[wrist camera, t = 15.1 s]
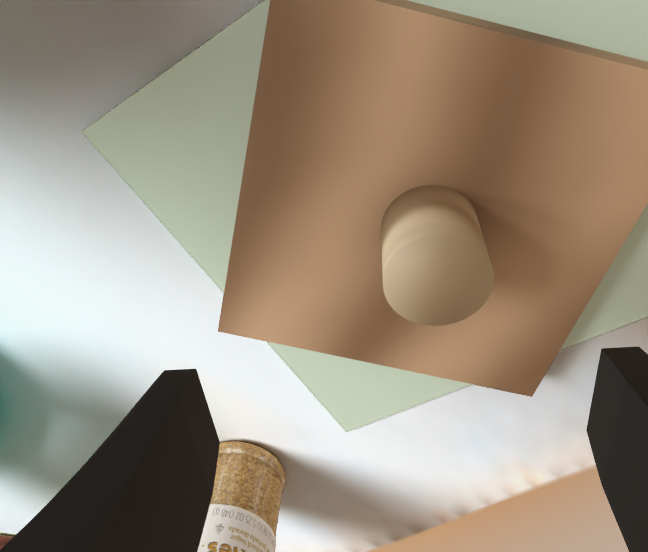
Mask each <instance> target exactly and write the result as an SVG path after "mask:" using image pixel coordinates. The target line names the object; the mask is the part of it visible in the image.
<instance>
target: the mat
mask: <svg viewBox="0 0 648 552" xmlns="http://www.w3.org/2000/svg"><path fill="white" fill-rule="evenodd" d="M408 1H412V2H416V3H420V4H423V5H427V6H431V7H435V8H439V9H443V10H447V11H451V12H455V13H459V14H463V15H467V16H471V17H474V18H478V19H482V20H486V21H490V22H494V23H498V24H502V25H506V26H510V27H514V28H518V29H521V30H525V31H529V32H533V33H537V34H541V35H545V36H549V37H553V38H557V39H561V40H565V41H569V42H572V43H576V44H580V45H584V46H588V47H592V48H596V49H600V50H604V51H608V52H612V53H616V54H619V55H623V56H627V57H631V58H635V59H639V60H643V61H647V62H648V0H408ZM269 4H270V0H264V1H263V2H261V3H260V4H258V5H257V6H256V7H254V8H253V9H252V10H250V11H249V12H247V13H246V14H245V15H243V16H242V17H240V18H239V19H238V20H236V21H235V22H233V23H232V24H231V25H229V26H228V27H226V28H225V29H224V30H222V31H221V32H219V33H218V34H217V35H215V36H214V37H212V38H211V39H210V40H208V41H207V42H205V43H204V44H203V45H201V46H200V47H199V48H197V49H196V50H194V51H193V52H192V53H190V54H189V55H187V56H186V57H185V58H183V59H182V60H180V61H179V62H178V63H176V64H175V65H173V66H172V67H171V68H169V69H168V70H166V71H165V72H164V73H162V74H161V75H159V76H158V77H157V78H155V79H154V80H152V81H151V82H150V83H148V84H147V85H145V86H144V87H143V88H141V89H140V90H139V91H137V92H136V93H134V94H133V95H132V96H130V97H129V98H127V99H126V100H125V101H123V102H122V103H120V104H119V105H118V106H116V107H115V108H113V109H112V110H111V111H109V112H108V113H106V114H105V115H104V116H102V117H101V118H99V119H98V120H97V121H95V122H94V123H92V124H91V125H90V126H88V127H87V128H85V129H84V130H83V131H82V133H83V134H84V135H85V137H86V138H87V139H88V140H89V141H90V142H91V143H92V144H93V146H94V147H95V148H96V149H97V150H98V151H99V152H100V154H101V155H102V156H103V157H104V158H105V159H106V160H107V161H108V163H109V164H110V165H111V166H112V167H113V168H114V169H115V171H116V172H117V173H118V174H119V175H120V176H121V177H122V178H123V180H124V181H125V182H126V183H127V184H128V185H129V186H130V188H131V189H132V190H133V191H134V192H135V193H136V194H137V195H138V197H139V198H140V199H141V200H142V201H143V202H144V203H145V205H146V206H147V207H148V208H149V209H150V210H151V211H152V213H153V214H154V215H155V216H156V217H157V218H158V219H159V220H160V222H161V223H162V224H163V225H164V226H165V227H166V228H167V230H168V231H169V232H170V233H171V234H172V235H173V236H174V237H175V239H176V240H177V241H178V242H179V243H180V244H181V245H182V247H183V248H184V249H185V250H186V251H187V252H188V253H189V254H190V256H191V257H192V258H193V259H194V260H195V261H196V262H197V264H198V265H199V266H200V267H201V268H202V269H203V270H204V271H205V273H206V274H207V275H208V276H209V277H210V278H211V279H212V281H213V282H214V283H215V284H216V285H217V286H218V287H219V288H220V290H221V291H222V292H223V293H224V290H225V283H226V277H227V271H228V264H229V258H230V252H231V245H232V239H233V233H234V226H235V220H236V214H237V207H238V201H239V195H240V188H241V182H242V176H243V169H244V163H245V157H246V150H247V144H248V138H249V131H250V125H251V119H252V112H253V106H254V99H255V93H256V87H257V80H258V74H259V68H260V61H261V55H262V49H263V42H264V36H265V30H266V23H267V17H268V11H269ZM646 317H648V204H647V206H646V207H645V209H644V211H643V212H642V214H641V216H640V217H639V219H638V221H637V222H636V224H635V226H634V227H633V229H632V231H631V232H630V234H629V236H628V237H627V239H626V241H625V242H624V244H623V246H622V247H621V249H620V251H619V252H618V254H617V256H616V257H615V259H614V261H613V262H612V264H611V266H610V267H609V269H608V271H607V272H606V274H605V276H604V277H603V279H602V281H601V282H600V284H599V286H598V287H597V289H596V291H595V292H594V294H593V296H592V297H591V299H590V301H589V302H588V304H587V306H586V307H585V309H584V311H583V312H582V314H581V316H580V317H579V319H578V321H577V322H576V324H575V326H574V327H573V329H572V331H571V332H570V334H569V336H568V337H567V339H566V341H565V342H564V344H563V346H562V347H561V349H560V350H562V349H565V348H568V347H570V346H573V345H575V344H578V343H581V342H583V341H586V340H588V339H591V338H594V337H596V336H599V335H601V334H604V333H607V332H609V331H612V330H614V329H617V328H620V327H622V326H625V325H627V324H630V323H633V322H635V321H638V320H640V319H643V318H646ZM266 342H267V341H266ZM267 343H268V344H269V345H270V346H271V347H272V349H273V350H274V351H275V352H276V353H277V354H278V355H279V357H280V358H281V359H282V360H283V361H284V362H285V363H286V364H287V366H288V367H289V368H290V369H291V370H292V371H293V372H294V374H295V375H296V376H297V377H298V378H299V379H300V380H301V381H302V383H303V384H304V385H305V386H306V387H307V388H308V389H309V391H310V392H311V393H312V394H313V395H314V396H315V397H316V398H317V400H318V401H319V402H320V403H321V404H322V405H323V406H324V408H325V409H326V410H327V411H328V412H329V413H330V414H331V416H332V417H333V418H334V419H335V420H336V421H337V422H338V423H339V425H340V426H341V427H342V428H343V429H344V430H345V431H346V432H349V431H351V430H354V429H356V428H359V427H362V426H364V425H367V424H370V423H372V422H375V421H377V420H380V419H383V418H385V417H388V416H390V415H393V414H396V413H398V412H401V411H403V410H406V409H409V408H411V407H414V406H416V405H419V404H422V403H424V402H427V401H429V400H432V399H435V398H437V397H440V396H442V395H445V394H448V393H450V392H453V391H455V390H458V389H461V388H463V387H466V386H469V385H471V384H469V383H464V382H459V381H454V380H450V379H445V378H440V377H435V376H430V375H426V374H421V373H416V372H411V371H406V370H402V369H397V368H392V367H387V366H382V365H378V364H373V363H368V362H363V361H358V360H354V359H349V358H344V357H339V356H334V355H330V354H325V353H320V352H315V351H310V350H306V349H301V348H296V347H291V346H286V345H282V344H277V343H272V342H267Z"/></svg>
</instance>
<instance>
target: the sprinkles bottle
mask: <svg viewBox="0 0 648 552" xmlns="http://www.w3.org/2000/svg"><path fill="white" fill-rule="evenodd" d="M285 485H286V476H285V472H284V469H283V467H282V466H281V463H280V462H278V460H277V458H276V457H275V456H273V455H272V454H271V453H270V452H268V451H266V450H264V449H263V448H261V447H258V446H256V445H253V444H248V443H244V442H236V441H234V442H221V443H220V445H219V453H218V460H217V468H216V475H215V481H214V488H213V494H212V498H211V502H210V506H209V510H208V514H207V518H206V521H205V525H204V529H203V533H202V536H201V540H200V544H199V547H198V551H197V552H275V547H276V539H275V537H276V527H277V523H278V514H279V509H280V502H281V495H282V492H283V490H284V488H285Z"/></svg>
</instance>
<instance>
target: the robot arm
mask: <svg viewBox="0 0 648 552" xmlns="http://www.w3.org/2000/svg"><path fill="white" fill-rule="evenodd" d="M587 433H588V437H589V441H590V444H591V448H592V452H593V456H594V459H595V463H596V466H597V470H598V473H599V477H600V480H601V483H602V486H603V489H604V491H605V494H606V496H607V499H608V501H609V504H610V506H611V509H612V511H613V513H614V516H615V518H616V521H617V523H618V526H619V528H620V530H621V533H622V535H623V537H624V540H625V542H626V545H627V547H628V550H629V552H648V354H646V353H645V352H644V351H643V350H642V349H641V348H640V347H624V348H604V349H601V354H600V360H599V365H598V371H597V376H596V382H595V387H594V393H593V398H592V403H591V409H590V414H589V420H588V425H587ZM219 445H220V442H219V439H218V436H217V433H216V430H215V426H214V423H213V420H212V417H211V414H210V411H209V408H208V405H207V402H206V399H205V395H204V392H203V389H202V386H201V383H200V380H199V377H198V374H197V371H196V369H184V370H165V371H164V372H163V373H162V374H161V375H160V376H159V377H158V379H157V380H156V381H155V382H154V383H153V384H152V386H151V387H150V388H149V389H148V390H147V391H146V393H145V394H144V395H143V396H142V397H141V399H140V400H139V401H138V402H137V404H136V405H135V406H134V407H133V408H132V410H131V411H130V412H129V413H128V414H127V416H126V417H125V418H124V419H123V420H122V422H121V423H120V424H119V425H118V426H117V427H116V429H115V430H114V431H113V432H112V433H111V435H110V436H109V437H108V438H107V439H106V440H105V441H104V443H103V444H102V445H101V446H100V447H99V448H98V449H97V451H96V452H95V453H94V454H93V455H92V456H91V458H90V459H89V460H88V461H87V462H86V463H85V464H84V465H83V467H82V468H81V469H80V470H79V471H78V472H77V473H76V474H75V475H74V476H73V477H72V478H71V480H70V481H69V482H68V483H67V484H66V485H65V486H64V487H63V488H62V489H61V490H60V491H59V492H58V493H57V494H56V495H55V496H54V498H53V499H52V500H51V501H50V502H49V503H48V504H47V505H46V506H45V507H44V508H43V509H42V510H41V511H40V512H39V513H38V514H37V515H36V516H35V517H34V518H33V519H32V520H31V521H30V522H29V523H28V524H27V525H26V526H25V527H24V528H23V529H22V530H21V531H20V532H19V533H18V534H16V535H15V536H14V537H13V538H12V539H11V540H10V541H9V542H8V543H7V544H6V545H5V546H3V547H2V548H1V549H0V552H197V551H198V547H199V544H200V540H201V536H202V533H203V529H204V525H205V521H206V518H207V514H208V510H209V506H210V502H211V498H212V494H213V488H214V481H215V475H216V468H217V460H218V453H219Z"/></svg>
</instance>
